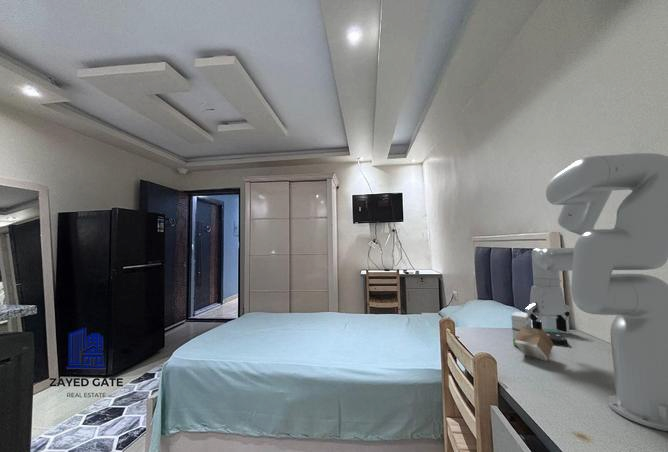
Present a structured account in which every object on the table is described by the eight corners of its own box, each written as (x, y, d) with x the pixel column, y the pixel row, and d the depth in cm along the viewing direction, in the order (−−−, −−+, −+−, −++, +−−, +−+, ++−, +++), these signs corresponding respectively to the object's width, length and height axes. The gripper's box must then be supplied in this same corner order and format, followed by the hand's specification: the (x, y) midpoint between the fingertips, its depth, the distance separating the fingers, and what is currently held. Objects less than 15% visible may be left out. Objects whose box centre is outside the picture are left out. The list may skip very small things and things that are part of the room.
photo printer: (571, 332, 119) (568, 304, 120) (568, 334, 117) (565, 305, 118) (543, 327, 128) (541, 300, 129) (539, 329, 125) (537, 302, 126)
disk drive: (569, 348, 103) (559, 336, 116) (568, 340, 104) (558, 329, 117) (535, 343, 108) (529, 333, 121) (535, 336, 109) (529, 326, 122)
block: (543, 330, 92) (536, 347, 89) (553, 343, 93) (546, 361, 90) (521, 326, 98) (514, 341, 95) (531, 339, 99) (524, 355, 96)
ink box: (528, 349, 101) (525, 317, 102) (512, 345, 105) (510, 314, 106) (532, 343, 107) (530, 313, 108) (518, 340, 111) (516, 311, 112)
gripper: (557, 280, 102) (560, 326, 101) (516, 282, 99) (519, 329, 98) (578, 283, 94) (581, 333, 93) (534, 285, 92) (537, 336, 91)
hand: (549, 331), depth 96 cm, fingers open, 9 cm apart
